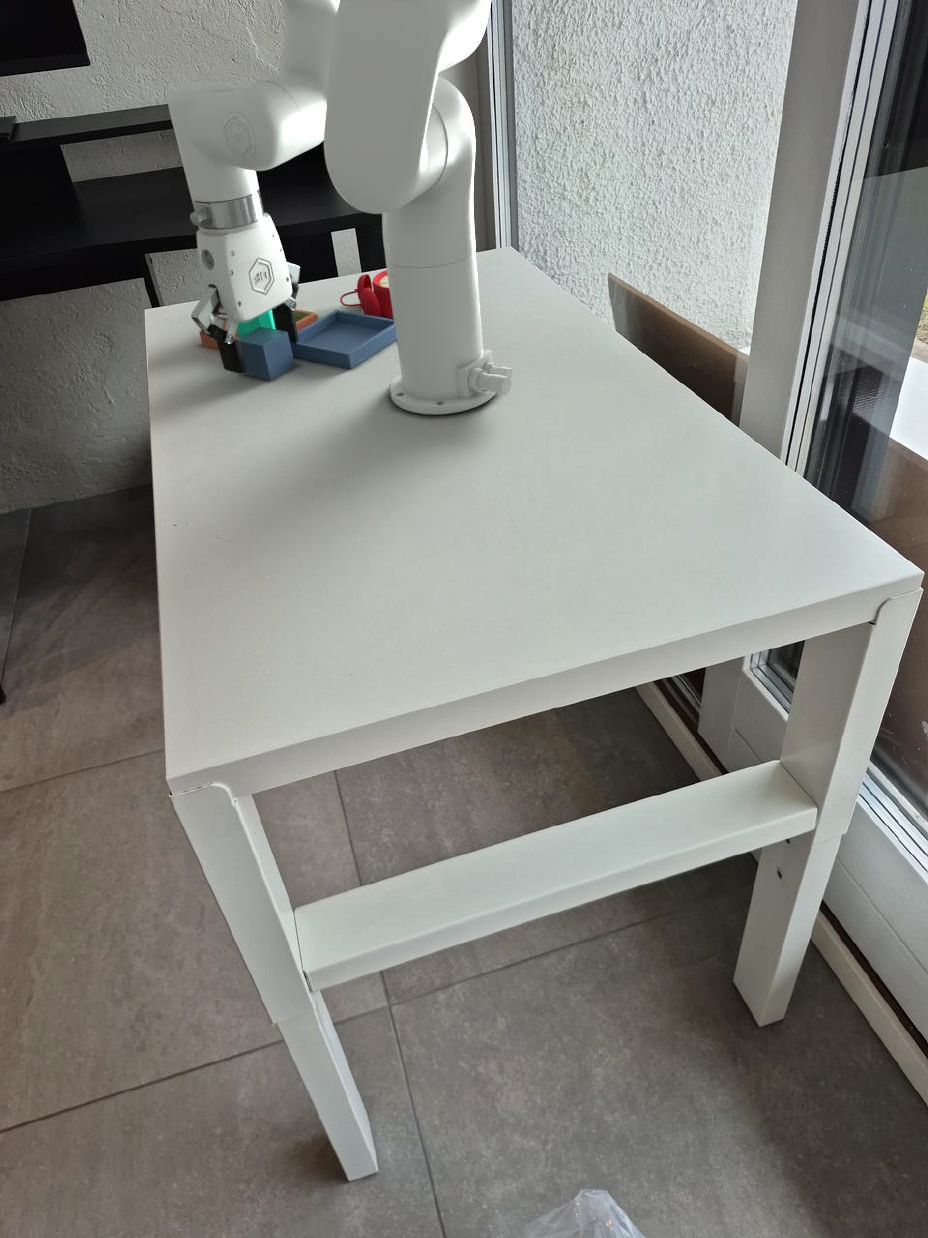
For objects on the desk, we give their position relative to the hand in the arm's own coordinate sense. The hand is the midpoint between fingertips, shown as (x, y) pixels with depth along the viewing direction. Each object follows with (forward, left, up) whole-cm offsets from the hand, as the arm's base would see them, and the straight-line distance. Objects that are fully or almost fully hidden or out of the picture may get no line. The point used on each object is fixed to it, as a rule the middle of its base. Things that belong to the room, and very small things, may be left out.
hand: (262, 355), depth 112 cm
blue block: (-1, 0, -2) cm, 2 cm away
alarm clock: (-4, -23, -2) cm, 23 cm away
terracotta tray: (+8, -8, -2) cm, 12 cm away
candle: (+8, -8, -2) cm, 12 cm away
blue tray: (-5, -10, -2) cm, 11 cm away
